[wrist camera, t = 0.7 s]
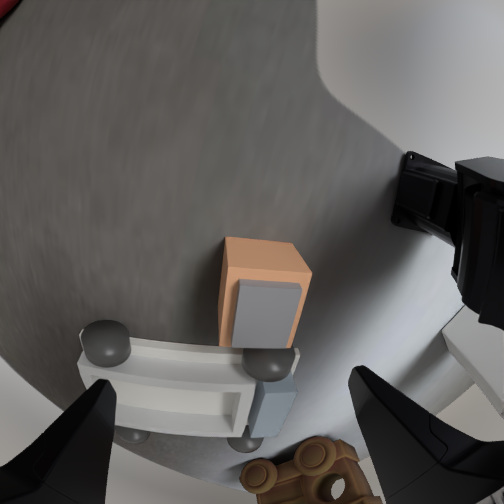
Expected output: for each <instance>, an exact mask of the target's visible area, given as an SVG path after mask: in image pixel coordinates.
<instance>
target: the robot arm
mask: <svg viewBox="0 0 504 504" xmlns="http://www.w3.org/2000/svg"><path fill="white" fill-rule="evenodd" d="M411 155H412V159H411V158H410V156H411ZM455 169H456V170H457V171H456V170H453V169H451V168H449V167H447V166H445V165H443V164H441V163H438V162H436V161H434V160H432V159H430V158H427V157H425V156H423V155H420V154H418V153H416V152H413V151H408V152H407V153H406V155H405V160H404V166H403V171H402V176H401V181H400V185H399V190H398V194H397V198H396V202H395V207H394V211H393V214H392V218H391V222H392V224H393V225H395V226H398V227H403V228H408V229H413V230H417V231H422V232H427V233H431V234H433V235H434V236H436V237H438V238H440V239H441V240H443V241H445V242H446V243H448V244H450V245H451V246H453V247H454V248H455V254H454V263H453V267H452V270H451V275H452V277H453V278H454V280H455V281H456V283H457V287H458V289H459V291H460V293H461V295H462V302H463V303H464V304H465V305H466V306H467V307H468V308H469V309H470V310H472V311H473V312H475V313H476V314H478V315H479V318H478V322H479V323H481V324H487V325H492V326H494V327H497V328H499V329H501V330H503V331H504V159H498V158H493V157H482V158H475V159H469V160H462V161H457V162H455ZM397 218H398V221H397V222H396V219H397ZM348 386H349V390H350V394H351V398H352V402H353V406H354V410H355V414H356V418H357V421H358V424H359V427H360V429H361V432H362V435H363V437H364V440H365V443H366V446H367V448H368V451H369V454H370V456H371V459H372V462H373V465H374V468H375V471H376V474H377V476H378V479H379V482H380V485H381V488H382V491H383V494H384V497H385V501H386V504H504V441H492V442H485V441H480V440H477V439H475V438H473V437H471V436H469V435H467V434H465V433H463V432H461V431H459V430H457V429H455V428H453V427H452V426H450V425H448V424H446V423H445V422H443V421H442V420H440V419H439V418H437V417H436V416H434V415H433V414H431V413H429V412H428V411H427V410H425V409H424V408H423V407H421V406H420V405H418V404H417V403H416V402H414V401H413V400H411V399H410V398H408V397H407V396H406V395H404V394H403V393H402V392H400V391H399V390H397V389H396V388H395V387H393V386H392V385H390V384H389V383H388V382H386V381H385V380H384V379H382V378H381V377H379V376H378V375H377V374H375V373H374V372H373V371H371V370H370V369H369V368H367V367H366V366H364V365H361V366H356V367H354V368H353V369H352V372H351V375H350V378H349V381H348ZM116 402H117V394H116V391H115V390H114V388H113V386H112V384H111V382H110V381H109V380H108V379H98V380H96V381H95V382H94V383H93V384H92V385H91V386H90V387H89V388H88V389H87V390H86V391H85V392H84V393H83V394H82V395H81V396H80V397H79V398H78V399H77V400H76V401H75V402H74V403H73V404H72V405H71V406H70V407H69V408H67V409H66V410H65V411H64V412H63V413H62V414H61V415H60V416H59V417H58V418H57V419H56V420H55V421H54V422H53V423H52V424H51V425H50V426H49V427H48V428H47V429H46V430H45V431H44V433H42V434H41V435H40V436H39V437H38V438H37V439H36V440H35V441H34V442H33V443H32V444H31V445H29V446H28V447H27V448H26V449H25V450H23V451H22V452H21V453H20V454H18V455H17V456H16V457H15V458H13V459H12V460H11V461H9V462H8V463H7V464H5V465H3V466H1V467H0V504H105V496H106V486H107V476H108V468H109V462H110V455H111V448H112V442H113V436H114V429H115V414H116Z"/></svg>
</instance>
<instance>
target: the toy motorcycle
mask: <svg viewBox="0 0 504 504" xmlns="http://www.w3.org/2000/svg"><path fill="white" fill-rule="evenodd" d="M18 1H19V0H0V18H2V17H3V16H4V15H5V14H6V13H7V12H8V11H10V10H11V9H12V8H13V7H14V6H15V5H16V4H17V2H18Z"/></svg>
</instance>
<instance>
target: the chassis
mask: <svg viewBox="0 0 504 504" xmlns="http://www.w3.org/2000/svg"><path fill="white" fill-rule="evenodd" d="M79 337H80V341H81V344H82V347H83V352H82V354H81V356H80V358H79V360H78V363H77V365H78V368H79V371H80V372H79V373H80V375H81V378H82V380H83V382H84V385H85V387H86V389H88V388H89V387H90V386H91V385H92V384H93V383H94V382H95V381H96V380H98V379H108V380H109V381H110V382H111V384H112V386H113V388H114V390H115V391H116V394H117V402H116V414H115V429H116V431H117V433H118V435H119V437H120V438H121V439H122V440H123V441H125V442H126V443H129V444H140V443H143V442H144V441H146V440H147V439H148V437H149V435H150V431H153V432H160V433H168V434H178V435H190V436H206V437H227V441H228V443H229V445H230V446H231V447H232V448H233V449H234V450H236V451H238V452H242V453H250V452H253V451H255V450H257V449H258V448H259V447H260V446H261V444H262V441H263V439H264V437H276V436H277V435H278V433H279V431H280V429H281V427H282V425H283V423H284V421H285V418H286V416H287V414H288V412H289V410H290V408H291V406H292V403H293V401H294V399H295V397H296V395H297V392H298V391H297V388H296V385H295V382H294V379H293V374H294V371H295V368H296V366H297V363H298V360H299V358H300V352H299V350H298V348H293V346H292V345H291V348H233V347H222V346H207V345H194V344H183V343H173V342H163V341H155V340H147V339H139V338H132V337H129V332H128V330H127V328H126V327H125V326H124V325H122V324H121V323H119V322H116V321H112V320H101V321H97V322H94V323H91V324H90V325H88V326H87V327H86V328H85V329H82V331H81V333H80V334H79Z"/></svg>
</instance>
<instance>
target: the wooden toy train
mask: <svg viewBox="0 0 504 504" xmlns="http://www.w3.org/2000/svg"><path fill="white" fill-rule="evenodd" d="M359 461H360V460H359V458H358V455H357V453H356V450H355V448H354V447H353V446H351V445H349V444H347V443H346V442H344V441H342V440H341V439H339V440H337V441H335V442H332V441H331V440H330V439H328V438H325V437H322V436H320V437H313V438H309V439H307V440H306V441H304V442H303V443H302V444H301V445H300V446H299V447H298V448H297V450H296V452H295V455H294V459H293V460H291V461H288V462H285V463H283V464H280V465H277V466H275V465H274V464H273V463H272V462H271V461H269V460H267V459H256V460H253V461H251V462H249V463H248V464H247V465H246V466H245V467H244V468H243V470H242V472H241V477H239V479H240V482H241V484H242V486H243V487H244V488H245V490H247V491H248V492H250V493H254V494H256V497H257V503H258V504H383V503H382V500H381V498H380V496H374V495H373V493H372V490H371V488H370V485H369V483H368V481H367V479H366V477H365V475H364V473H363V471H362V470H361V468H360V466H359V465H358V463H357V462H359ZM341 478H343V479H344V481H345V489H344V491H343V493H342V494H341V496H340V497H339V498H337V499H336V500H335V499H334V498H333V497H332V495H331V488H332V485H333V484H334V483H335V481H336V480H339V479H341Z"/></svg>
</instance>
